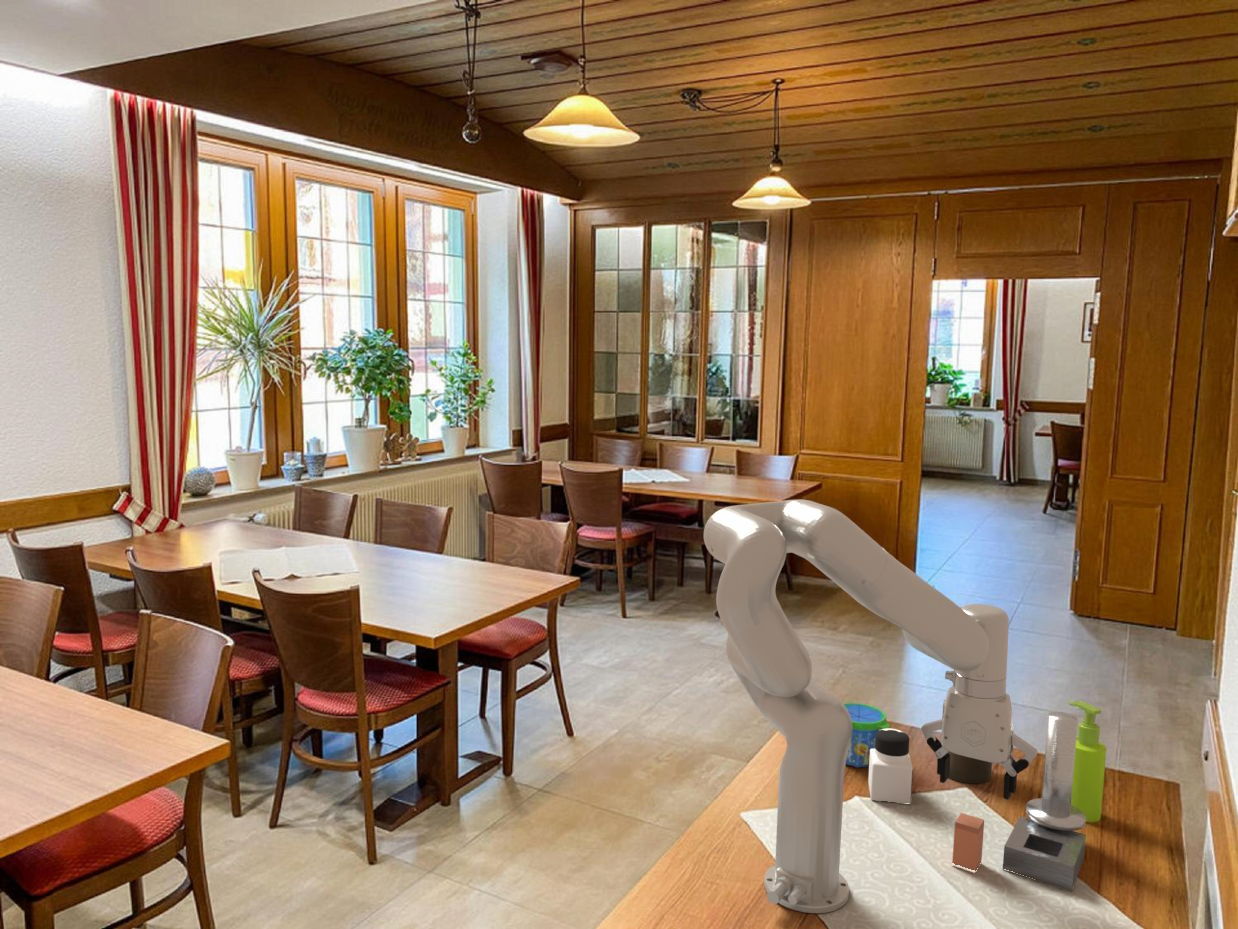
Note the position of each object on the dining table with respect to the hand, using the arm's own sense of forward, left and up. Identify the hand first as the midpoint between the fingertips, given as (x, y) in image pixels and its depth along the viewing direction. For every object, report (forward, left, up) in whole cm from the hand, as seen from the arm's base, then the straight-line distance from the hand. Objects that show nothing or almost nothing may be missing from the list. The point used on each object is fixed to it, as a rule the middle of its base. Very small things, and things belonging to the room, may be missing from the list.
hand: (975, 787), depth 143 cm
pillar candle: (+33, +9, -13) cm, 37 cm away
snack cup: (+25, +28, -13) cm, 40 cm away
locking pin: (-1, 0, -13) cm, 13 cm away
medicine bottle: (+15, +18, -13) cm, 27 cm away
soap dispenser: (+29, -12, -13) cm, 34 cm away
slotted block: (+10, -10, -13) cm, 19 cm away
